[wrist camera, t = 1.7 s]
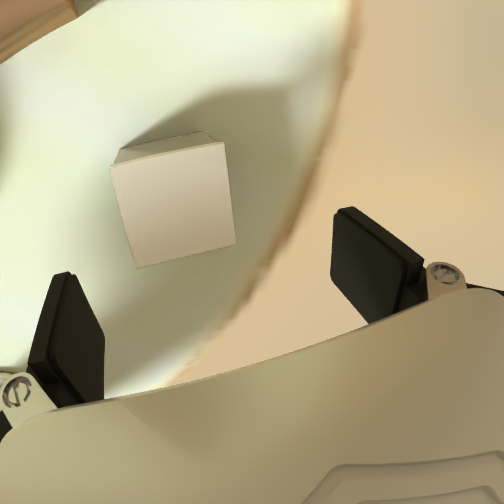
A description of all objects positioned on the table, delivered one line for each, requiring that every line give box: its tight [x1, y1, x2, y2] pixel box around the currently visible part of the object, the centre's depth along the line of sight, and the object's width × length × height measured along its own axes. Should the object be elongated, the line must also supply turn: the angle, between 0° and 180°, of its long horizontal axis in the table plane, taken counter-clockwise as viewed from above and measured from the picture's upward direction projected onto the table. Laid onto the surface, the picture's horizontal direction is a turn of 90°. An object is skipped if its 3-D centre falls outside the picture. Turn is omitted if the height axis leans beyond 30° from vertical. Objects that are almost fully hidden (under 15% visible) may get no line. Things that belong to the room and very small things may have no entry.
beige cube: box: [109, 131, 236, 269], centre depth 20 cm, size 6×6×6 cm
